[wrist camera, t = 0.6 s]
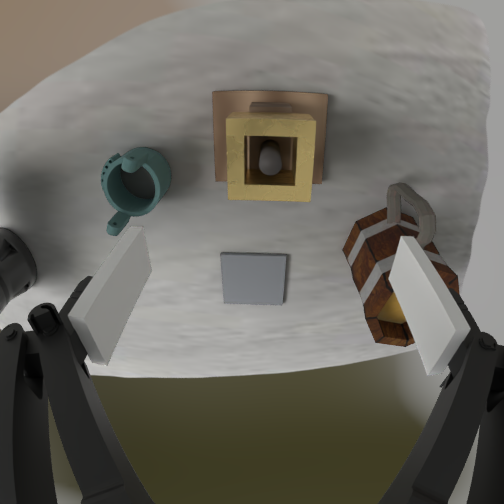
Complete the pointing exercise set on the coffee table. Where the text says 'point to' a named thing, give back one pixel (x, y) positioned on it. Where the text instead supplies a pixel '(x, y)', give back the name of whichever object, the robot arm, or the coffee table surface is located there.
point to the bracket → (121, 196)
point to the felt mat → (253, 278)
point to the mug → (391, 261)
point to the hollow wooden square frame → (254, 180)
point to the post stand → (268, 147)
